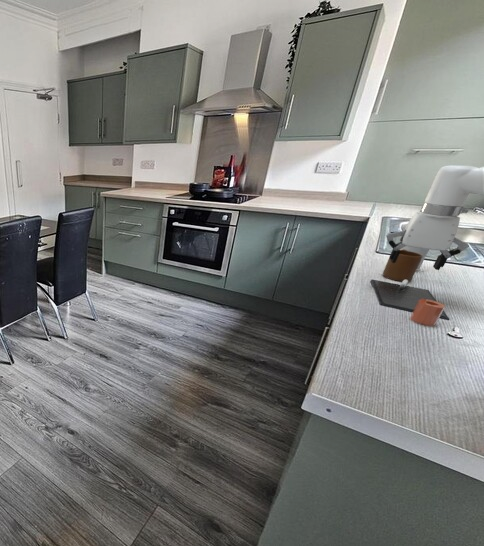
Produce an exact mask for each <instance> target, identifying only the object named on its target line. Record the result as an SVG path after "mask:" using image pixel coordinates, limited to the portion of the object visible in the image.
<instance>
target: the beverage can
mask: <svg viewBox="0 0 484 546" xmlns="http://www.w3.org/2000/svg"><path fill="white" fill-rule="evenodd" d="M403 249H405V250H407V251H411V252H415V253H418V254H421V255H422V259H421V262H420V264H419V266H418V268H417V270H416V271H418V270H420V269H421V267H422V265H423V263H424V260H425V259H426V257H427V255H428V253H429V251H430V249H424V248H416V247H410V246H405V247H403Z"/></svg>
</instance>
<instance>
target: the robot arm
mask: <svg viewBox="0 0 484 546" xmlns="http://www.w3.org/2000/svg"><path fill="white" fill-rule="evenodd" d="M469 194H472V195H479V196H484V165H483V166H481V167H477V166H475V165H474V166H473V165H459V164H458V165H455V164H450V165H443V166H442V167H440V168H439V170H438V171H437V173H436V175H435V177H434V179H433V181H432V184H431V186H430V188H429V190H428V193H427V195H426V197H425V199H424V202H423V204H422V206H421V208H420V210H419V211H418V212H417V211H416V212H414V214H413V215H412V216H411V218H410V220H409V221H408V222H407V224H406V225H405V228H404V229H403V230H400V231H396V232H391V233H387V234H385V236H386V240H387V243H388V245H389V246H390V247H391V249H392V250H391V252H390V254H389V257H388V259H391V262H392V263H395V262H396V260H397V258H398V256H399V253H400V251H399V250H402V249H404V247H405V246H410V247H416V248H424V249H429V250H430V251H439V252H440V254H438V256H437V258H436V259H435V262H434V263H433V265H432V267H433V269H435V270H436V271H439V270H441V268H444V266H445V265H446V263H447V261H448V259H450V258H451V257H453V256H457V255H459V254H461V252H464V251H465V250H467V249H468V248H469V247H470V245H469V244H468V243H466V242H465V241H462V240H461V239H459V238H457V237H456V235H457V232H458V229H459V226H460V221H461V217H460V215H461V214H462V215H463V214H468V212H469V208H465V207H464V205H465V202H466V200H467V198H468V196H469ZM395 238H399V241H398V242H395V241H394V239H395ZM452 244H455V245H457V246H456V247H455V248H453V249H450V248H451V246H452ZM449 249H450V250H449Z"/></svg>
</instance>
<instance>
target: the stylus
mask: <svg viewBox="0 0 484 546" xmlns="http://www.w3.org/2000/svg"><path fill="white" fill-rule="evenodd" d="M408 283H409V281H408V280H406V279H405V280H403V281H401V283H400V284H399V285H400V287H401V288H404V287H405V286H407V284H408Z"/></svg>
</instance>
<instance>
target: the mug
mask: <svg viewBox="0 0 484 546" xmlns="http://www.w3.org/2000/svg"><path fill="white" fill-rule="evenodd" d="M399 251H400V253H399V256H398V258H397V260H396V262H395V263H392V262H391V259H389V258H388V260H387V262H386V264H385V265H384V269H383V271H382V276H384V278H387V279H389V280H392V281H396V282H403V280H405V279H406V280H408V282H411V281H412V280H413V278H414V276H415V274H416V272H417V271H418V270H417V268H418V266H419V264H420V262H421V259H422V255H421V254H418V253H415V252H411V251H407V250H405V249H404V248H402V249H400V250H399Z"/></svg>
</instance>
